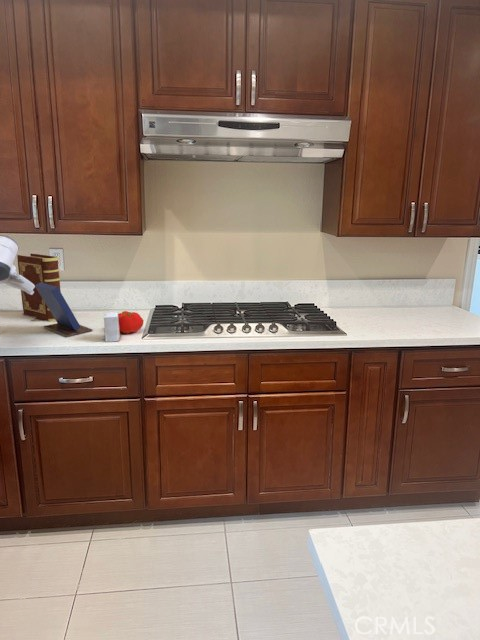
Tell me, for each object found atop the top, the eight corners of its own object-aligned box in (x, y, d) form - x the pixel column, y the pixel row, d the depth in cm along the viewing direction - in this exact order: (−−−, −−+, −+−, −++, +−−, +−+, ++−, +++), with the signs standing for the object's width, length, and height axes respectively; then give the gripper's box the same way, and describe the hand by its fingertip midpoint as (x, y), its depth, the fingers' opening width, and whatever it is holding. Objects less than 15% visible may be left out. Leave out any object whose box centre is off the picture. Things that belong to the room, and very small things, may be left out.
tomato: (146, 333, 202) (145, 314, 200) (117, 336, 198) (116, 317, 195) (140, 326, 214) (140, 308, 211) (113, 329, 209) (111, 310, 207)
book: (75, 331, 201) (51, 290, 189) (58, 324, 210) (34, 285, 199) (80, 327, 202) (57, 286, 191) (63, 320, 212) (40, 282, 201)
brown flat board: (66, 337, 195) (66, 335, 195) (44, 328, 208) (43, 326, 208) (92, 332, 204) (92, 329, 204) (69, 323, 217) (68, 321, 217)
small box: (119, 341, 191) (117, 316, 189) (105, 342, 190) (103, 317, 188) (120, 335, 199) (118, 312, 196) (106, 336, 198) (104, 312, 195)
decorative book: (66, 319, 224) (60, 256, 216) (52, 322, 218) (45, 258, 210) (37, 312, 236) (31, 253, 228) (23, 315, 229) (16, 254, 221)
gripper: (20, 269, 175) (48, 290, 185) (-2, 263, 188) (25, 283, 198) (9, 282, 173) (38, 303, 183) (-12, 275, 186) (16, 295, 196)
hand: (31, 293), depth 190 cm, fingers closed
